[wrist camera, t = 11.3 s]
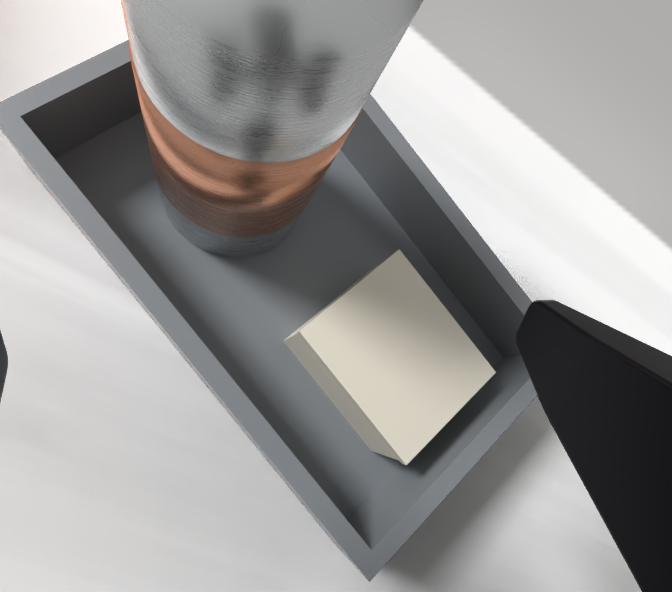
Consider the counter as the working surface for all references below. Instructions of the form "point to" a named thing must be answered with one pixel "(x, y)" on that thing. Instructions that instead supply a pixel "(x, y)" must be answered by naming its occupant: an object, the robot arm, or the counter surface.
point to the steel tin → (252, 105)
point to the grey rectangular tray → (286, 294)
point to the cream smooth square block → (391, 359)
